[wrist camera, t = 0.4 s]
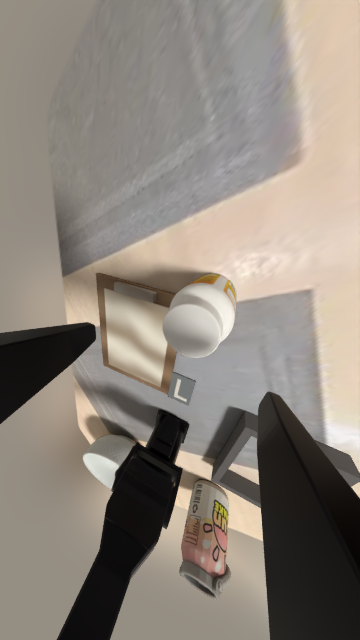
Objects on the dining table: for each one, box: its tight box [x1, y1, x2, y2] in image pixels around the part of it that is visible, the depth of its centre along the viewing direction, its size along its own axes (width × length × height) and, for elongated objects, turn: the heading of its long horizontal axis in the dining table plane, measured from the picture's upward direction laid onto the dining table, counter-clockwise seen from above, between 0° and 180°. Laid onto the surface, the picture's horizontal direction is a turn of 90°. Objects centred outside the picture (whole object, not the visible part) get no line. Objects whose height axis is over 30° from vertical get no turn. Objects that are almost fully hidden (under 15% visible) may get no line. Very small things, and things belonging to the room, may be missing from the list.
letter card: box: [168, 372, 196, 405], centre depth 26 cm, size 6×4×1 cm, turn 170°
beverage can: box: [179, 480, 231, 600], centre depth 31 cm, size 9×8×12 cm
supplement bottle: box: [163, 274, 236, 358], centre depth 14 cm, size 5×5×10 cm
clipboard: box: [96, 273, 177, 394], centre depth 24 cm, size 18×14×2 cm
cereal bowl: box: [83, 435, 136, 489], centre depth 39 cm, size 17×17×7 cm
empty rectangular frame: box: [211, 411, 360, 508], centre depth 25 cm, size 18×13×2 cm
